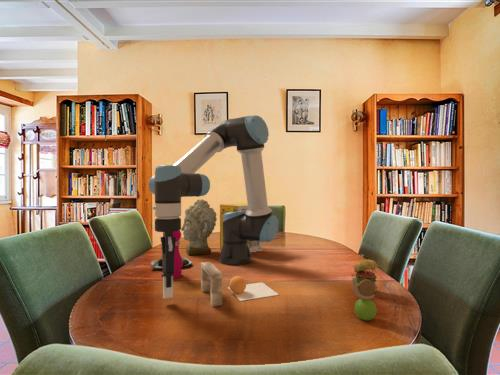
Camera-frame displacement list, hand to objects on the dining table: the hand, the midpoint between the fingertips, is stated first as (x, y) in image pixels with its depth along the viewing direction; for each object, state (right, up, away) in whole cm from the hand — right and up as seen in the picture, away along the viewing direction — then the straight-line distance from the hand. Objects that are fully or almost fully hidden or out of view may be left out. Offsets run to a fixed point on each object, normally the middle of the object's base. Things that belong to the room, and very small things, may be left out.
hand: (168, 296), depth 87 cm
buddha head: (-3, -2, +68) cm, 68 cm away
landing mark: (+25, -2, +10) cm, 27 cm away
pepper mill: (-5, -2, +27) cm, 28 cm away
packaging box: (+19, -2, +72) cm, 75 cm away
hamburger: (+63, -2, +10) cm, 64 cm away
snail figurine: (+54, -2, -11) cm, 55 cm away
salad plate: (-11, -3, +42) cm, 43 cm away
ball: (+20, +1, +8) cm, 22 cm away
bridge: (+12, -2, +5) cm, 13 cm away
